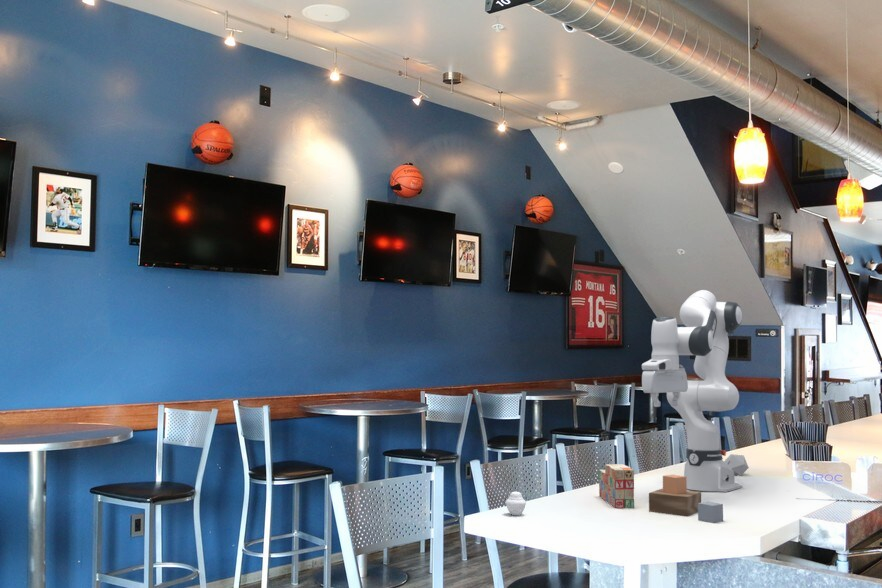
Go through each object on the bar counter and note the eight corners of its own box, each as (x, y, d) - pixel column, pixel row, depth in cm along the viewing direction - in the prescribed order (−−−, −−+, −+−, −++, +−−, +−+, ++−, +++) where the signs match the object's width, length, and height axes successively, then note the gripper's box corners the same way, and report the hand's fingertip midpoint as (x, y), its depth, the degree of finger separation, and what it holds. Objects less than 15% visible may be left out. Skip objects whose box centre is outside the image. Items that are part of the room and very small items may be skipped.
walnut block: (664, 507, 254) (663, 488, 255) (701, 511, 247) (700, 491, 247) (649, 512, 245) (648, 492, 245) (687, 517, 237) (687, 497, 238)
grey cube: (708, 518, 235) (707, 501, 235) (723, 521, 231) (722, 503, 231) (698, 520, 232) (697, 503, 232) (713, 523, 228) (712, 505, 228)
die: (723, 474, 329) (717, 456, 325) (741, 463, 330) (735, 445, 326) (736, 484, 321) (730, 466, 317) (754, 473, 322) (748, 455, 318)
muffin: (523, 517, 235) (523, 493, 235) (503, 515, 237) (503, 492, 238) (528, 513, 241) (528, 490, 241) (508, 512, 243) (508, 488, 243)
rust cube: (673, 490, 250) (673, 474, 250) (686, 492, 245) (686, 476, 246) (663, 492, 247) (662, 475, 247) (675, 494, 243) (675, 477, 243)
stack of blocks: (598, 496, 271) (598, 460, 272) (616, 496, 271) (616, 460, 272) (615, 508, 250) (614, 469, 251) (634, 508, 250) (634, 469, 251)
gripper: (676, 364, 275) (677, 404, 274) (638, 364, 262) (638, 406, 261) (692, 364, 270) (692, 405, 269) (653, 364, 257) (654, 407, 256)
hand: (665, 406), depth 265 cm, fingers open, 8 cm apart
